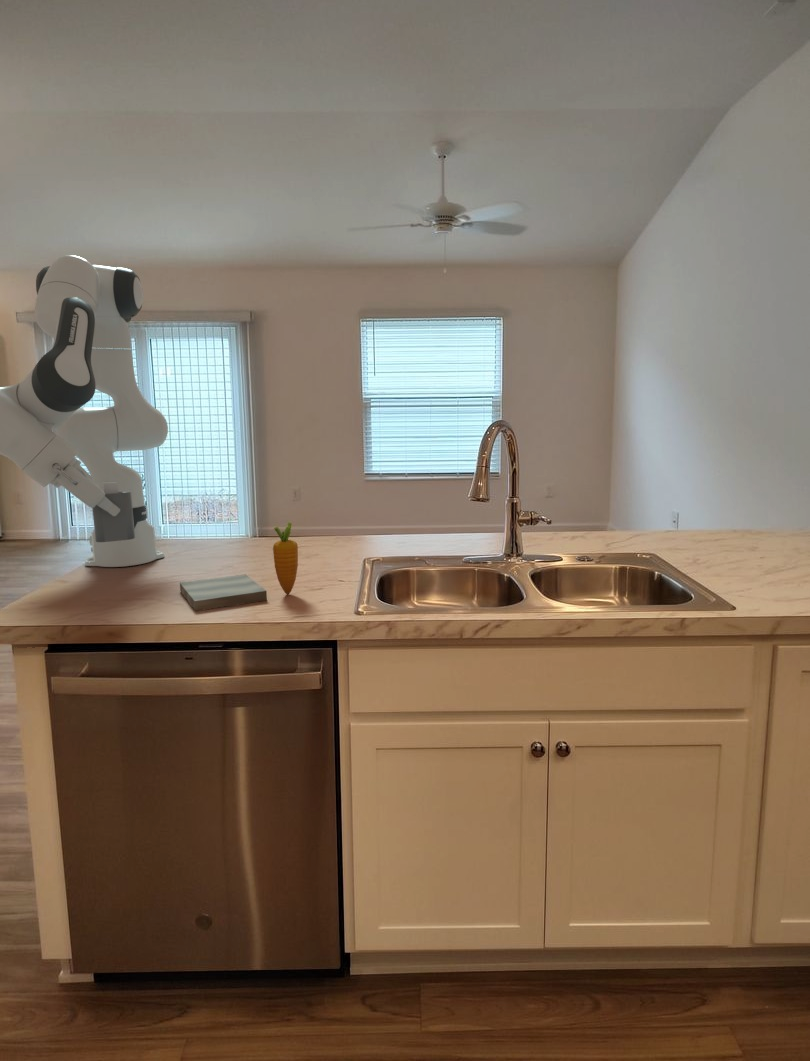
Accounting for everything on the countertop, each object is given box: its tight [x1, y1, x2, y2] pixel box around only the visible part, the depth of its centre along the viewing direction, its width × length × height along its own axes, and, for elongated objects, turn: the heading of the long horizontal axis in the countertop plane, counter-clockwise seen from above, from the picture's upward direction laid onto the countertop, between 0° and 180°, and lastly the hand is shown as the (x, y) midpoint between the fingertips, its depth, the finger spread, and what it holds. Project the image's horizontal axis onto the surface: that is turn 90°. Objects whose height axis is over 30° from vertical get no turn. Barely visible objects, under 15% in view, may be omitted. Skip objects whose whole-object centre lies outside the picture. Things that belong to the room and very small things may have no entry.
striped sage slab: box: [179, 573, 268, 612], centre depth 138 cm, size 16×14×2 cm
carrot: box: [272, 521, 299, 596], centre depth 137 cm, size 5×5×15 cm
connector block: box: [91, 482, 135, 542], centre depth 128 cm, size 7×3×11 cm, turn 118°
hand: (116, 511), depth 128 cm, fingers closed on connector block, 3 cm apart
